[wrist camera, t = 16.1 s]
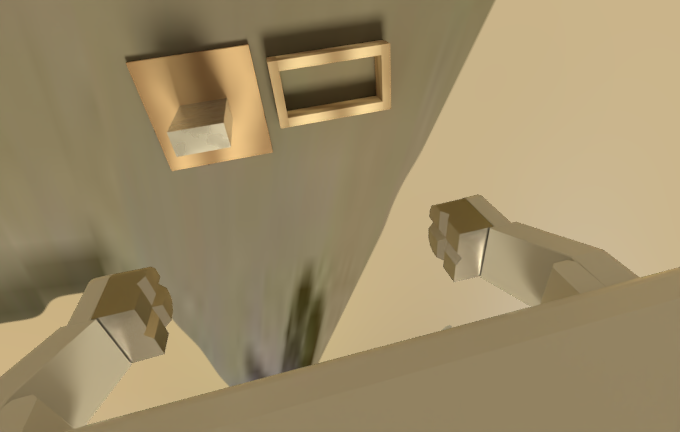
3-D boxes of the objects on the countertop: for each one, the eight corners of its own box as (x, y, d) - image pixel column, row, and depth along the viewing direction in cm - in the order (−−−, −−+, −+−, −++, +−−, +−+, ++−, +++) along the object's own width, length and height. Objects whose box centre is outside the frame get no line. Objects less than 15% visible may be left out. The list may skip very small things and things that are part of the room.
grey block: (187, 127, 39) (176, 156, 33) (179, 105, 38) (166, 132, 31) (232, 119, 40) (230, 147, 33) (226, 97, 38) (223, 122, 32)
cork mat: (172, 169, 42) (171, 170, 41) (127, 62, 35) (125, 63, 35) (272, 150, 43) (272, 152, 43) (248, 44, 36) (248, 44, 36)
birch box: (279, 120, 42) (280, 128, 40) (266, 57, 37) (267, 62, 35) (384, 102, 43) (391, 108, 41) (382, 39, 39) (390, 43, 37)
